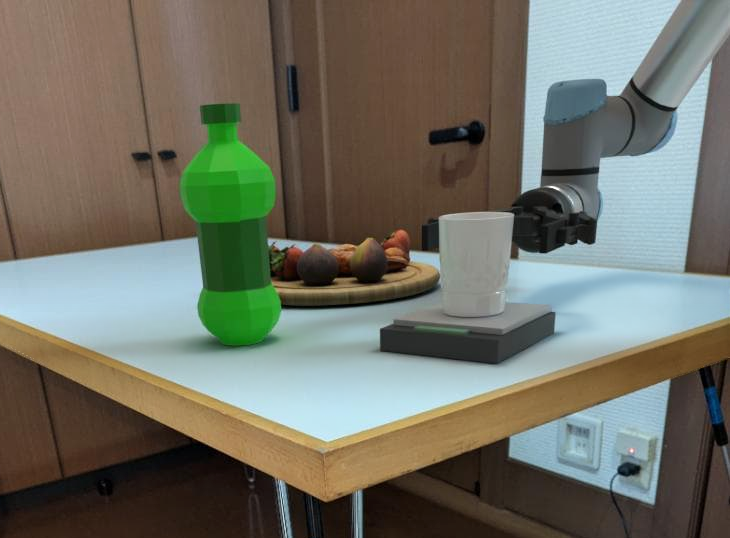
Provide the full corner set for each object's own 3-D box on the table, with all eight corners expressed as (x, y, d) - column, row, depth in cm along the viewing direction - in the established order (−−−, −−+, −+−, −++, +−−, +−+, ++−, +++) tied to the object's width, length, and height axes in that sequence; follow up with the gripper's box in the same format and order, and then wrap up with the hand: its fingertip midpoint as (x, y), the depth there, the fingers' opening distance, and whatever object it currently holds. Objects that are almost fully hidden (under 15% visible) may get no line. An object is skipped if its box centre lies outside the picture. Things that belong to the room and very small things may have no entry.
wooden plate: (381, 267, 144) (380, 218, 141) (480, 290, 118) (482, 231, 114) (210, 287, 133) (204, 235, 130) (278, 318, 107) (273, 253, 103)
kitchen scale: (554, 333, 91) (556, 305, 90) (497, 363, 81) (498, 332, 79) (445, 323, 99) (445, 297, 97) (380, 350, 88) (379, 322, 87)
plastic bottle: (269, 327, 102) (251, 105, 91) (295, 343, 93) (279, 99, 82) (192, 337, 99) (164, 109, 88) (211, 355, 90) (182, 103, 79)
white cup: (423, 314, 89) (423, 218, 84) (463, 302, 94) (465, 211, 90) (483, 321, 84) (487, 220, 80) (522, 308, 89) (528, 212, 85)
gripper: (642, 251, 98) (595, 279, 82) (453, 247, 110) (380, 271, 94) (650, 184, 95) (602, 200, 79) (454, 188, 107) (379, 202, 91)
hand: (481, 239), depth 86 cm, fingers open, 13 cm apart
